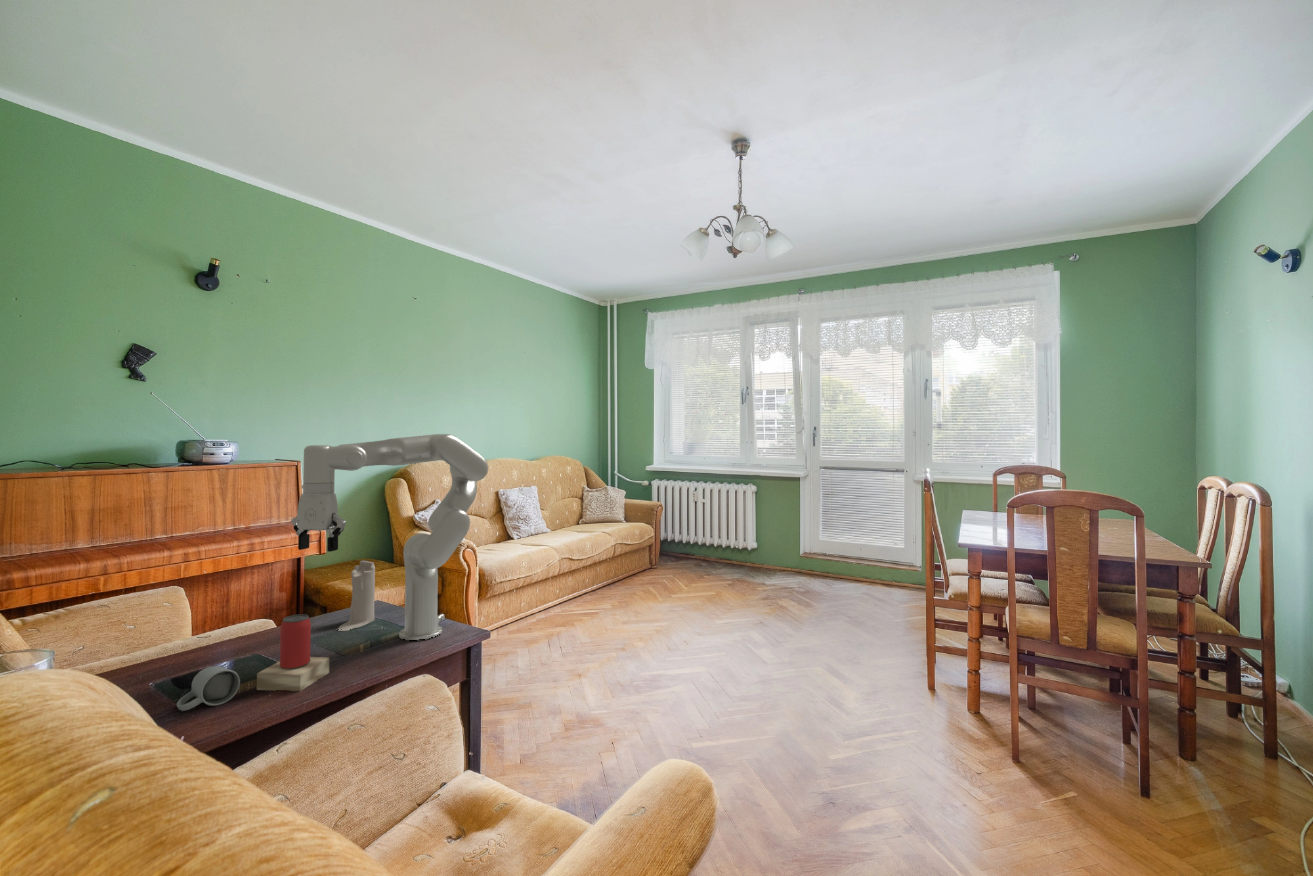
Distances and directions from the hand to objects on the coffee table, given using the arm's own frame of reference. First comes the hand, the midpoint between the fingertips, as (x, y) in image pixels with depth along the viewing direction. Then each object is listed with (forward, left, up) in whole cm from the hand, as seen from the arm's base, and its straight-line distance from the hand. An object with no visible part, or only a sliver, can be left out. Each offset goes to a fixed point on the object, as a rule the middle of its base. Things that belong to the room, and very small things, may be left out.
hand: (318, 549), depth 157 cm
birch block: (+14, +7, -30) cm, 34 cm away
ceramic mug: (+28, -2, -31) cm, 42 cm away
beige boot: (-27, -11, -31) cm, 42 cm away
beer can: (+14, +7, -26) cm, 31 cm away
